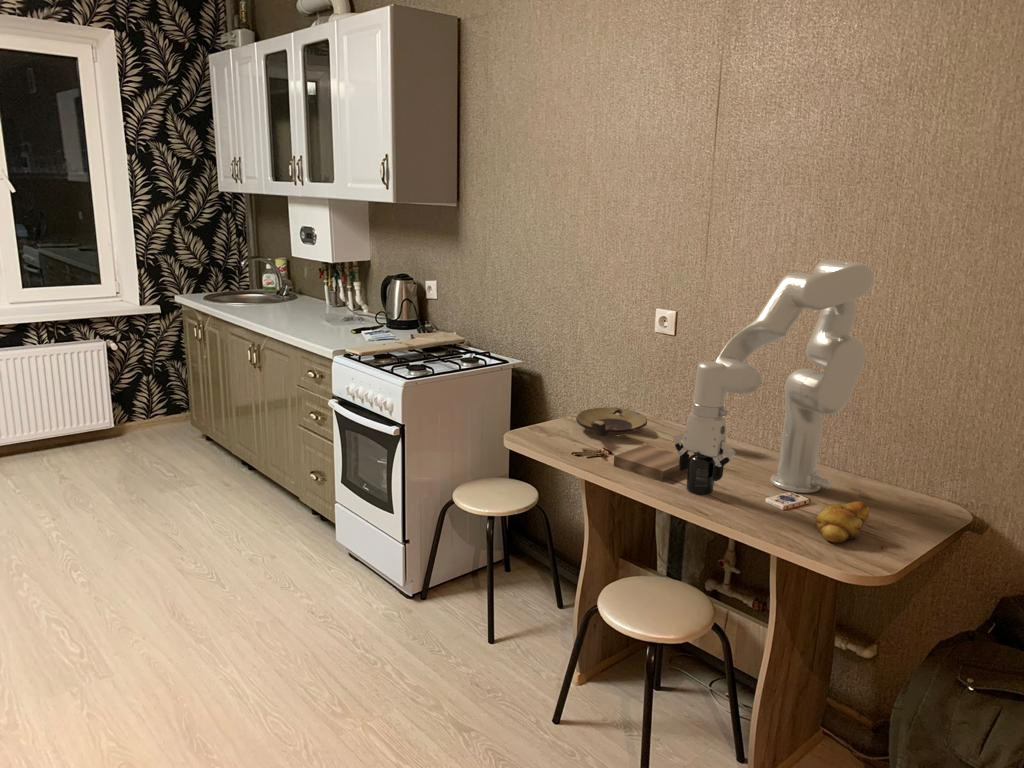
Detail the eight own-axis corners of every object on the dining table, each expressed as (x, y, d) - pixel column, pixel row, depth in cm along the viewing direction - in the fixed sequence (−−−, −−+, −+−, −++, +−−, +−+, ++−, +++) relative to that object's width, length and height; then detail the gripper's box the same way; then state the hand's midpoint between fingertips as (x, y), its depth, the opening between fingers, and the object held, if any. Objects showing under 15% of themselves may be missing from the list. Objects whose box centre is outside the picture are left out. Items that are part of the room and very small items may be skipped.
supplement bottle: (717, 490, 195) (722, 446, 192) (705, 497, 190) (709, 452, 187) (693, 483, 200) (698, 440, 197) (681, 490, 195) (685, 446, 192)
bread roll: (845, 550, 163) (850, 516, 161) (802, 535, 170) (807, 502, 168) (868, 534, 172) (874, 502, 170) (826, 521, 179) (831, 489, 177)
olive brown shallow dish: (660, 432, 245) (662, 410, 243) (603, 451, 224) (605, 426, 222) (605, 417, 260) (607, 396, 258) (548, 433, 239) (549, 410, 237)
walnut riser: (693, 468, 211) (694, 458, 211) (662, 481, 200) (663, 471, 199) (645, 454, 222) (646, 444, 221) (613, 465, 211) (614, 455, 210)
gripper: (746, 416, 187) (737, 481, 191) (685, 401, 198) (678, 462, 202) (731, 421, 181) (723, 487, 185) (669, 405, 193) (663, 468, 197)
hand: (699, 474), depth 194 cm, fingers open, 9 cm apart
